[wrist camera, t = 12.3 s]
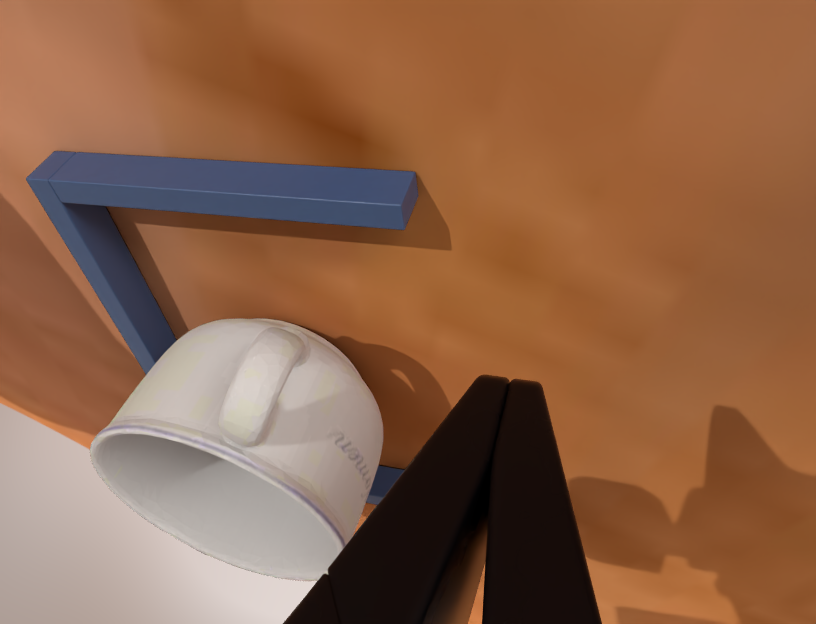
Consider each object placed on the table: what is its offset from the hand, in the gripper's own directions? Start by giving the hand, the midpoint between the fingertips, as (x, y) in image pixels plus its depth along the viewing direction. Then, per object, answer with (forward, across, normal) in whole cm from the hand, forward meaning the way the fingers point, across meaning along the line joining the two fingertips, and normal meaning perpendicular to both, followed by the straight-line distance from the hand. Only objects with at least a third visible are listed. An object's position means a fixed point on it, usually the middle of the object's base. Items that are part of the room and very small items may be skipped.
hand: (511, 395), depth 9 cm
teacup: (+12, +11, +15) cm, 22 cm away
